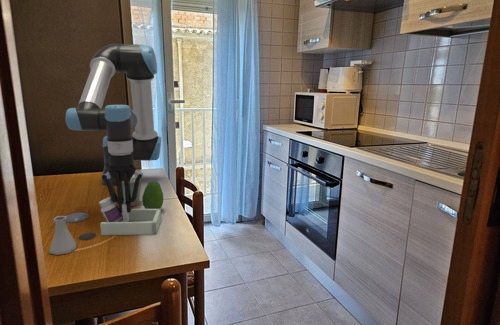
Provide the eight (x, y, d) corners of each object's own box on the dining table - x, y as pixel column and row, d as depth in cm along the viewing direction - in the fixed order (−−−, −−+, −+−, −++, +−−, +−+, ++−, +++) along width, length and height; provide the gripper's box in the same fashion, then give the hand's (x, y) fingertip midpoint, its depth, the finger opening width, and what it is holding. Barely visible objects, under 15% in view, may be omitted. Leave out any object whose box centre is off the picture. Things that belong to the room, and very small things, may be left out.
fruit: (138, 210, 127) (136, 181, 124) (156, 205, 133) (155, 177, 130) (149, 216, 122) (148, 185, 119) (167, 211, 128) (167, 181, 125)
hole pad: (82, 233, 107) (81, 232, 107) (98, 232, 108) (98, 232, 108) (75, 240, 103) (75, 240, 103) (92, 240, 103) (92, 239, 103)
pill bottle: (128, 219, 114) (116, 194, 111) (118, 228, 109) (105, 203, 106) (116, 220, 116) (104, 197, 113) (106, 229, 111) (93, 205, 108)
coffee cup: (135, 208, 129) (133, 179, 126) (115, 206, 131) (113, 177, 128) (146, 201, 137) (144, 173, 134) (127, 199, 139) (125, 171, 136)
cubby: (112, 219, 118) (111, 209, 118) (161, 218, 121) (161, 208, 120) (101, 235, 107) (100, 223, 106) (155, 234, 109) (155, 222, 108)
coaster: (68, 213, 122) (68, 212, 122) (91, 213, 123) (91, 212, 123) (59, 222, 114) (59, 221, 114) (83, 222, 115) (83, 221, 115)
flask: (56, 243, 100) (52, 212, 98) (81, 243, 101) (78, 213, 99) (43, 255, 93) (39, 223, 91) (70, 255, 94) (67, 223, 92)
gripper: (96, 155, 103) (103, 226, 108) (139, 155, 104) (143, 224, 109) (103, 151, 110) (109, 217, 115) (143, 150, 112) (147, 216, 117)
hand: (126, 221), depth 112 cm, fingers closed
